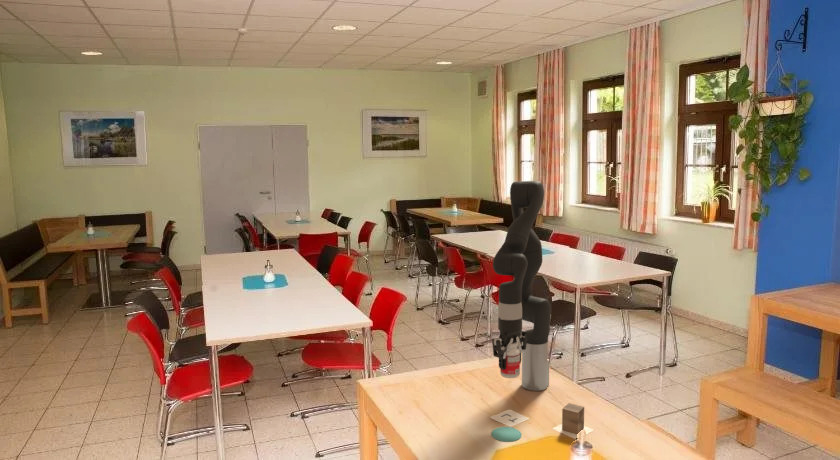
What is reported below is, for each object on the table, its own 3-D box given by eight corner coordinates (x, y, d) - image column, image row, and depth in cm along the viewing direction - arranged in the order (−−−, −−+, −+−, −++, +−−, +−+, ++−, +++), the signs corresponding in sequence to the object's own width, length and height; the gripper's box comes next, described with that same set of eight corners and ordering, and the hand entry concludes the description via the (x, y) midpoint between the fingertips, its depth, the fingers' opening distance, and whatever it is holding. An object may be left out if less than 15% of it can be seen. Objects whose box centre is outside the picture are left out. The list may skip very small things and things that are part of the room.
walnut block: (568, 424, 187) (568, 402, 186) (583, 428, 184) (584, 406, 183) (562, 430, 183) (562, 408, 182) (577, 434, 180) (578, 412, 179)
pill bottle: (499, 371, 193) (499, 338, 192) (518, 371, 193) (518, 338, 192) (501, 379, 187) (501, 345, 186) (521, 378, 187) (521, 345, 186)
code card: (509, 409, 198) (509, 409, 198) (529, 419, 191) (529, 418, 191) (489, 417, 193) (489, 417, 193) (510, 427, 186) (510, 427, 186)
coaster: (505, 425, 188) (505, 424, 187) (527, 435, 181) (527, 434, 180) (485, 434, 182) (485, 432, 182) (507, 445, 175) (507, 444, 175)
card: (570, 420, 190) (570, 419, 190) (594, 430, 183) (594, 429, 183) (551, 429, 184) (551, 428, 184) (575, 439, 178) (575, 439, 177)
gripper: (516, 308, 195) (516, 358, 197) (485, 317, 186) (485, 368, 188) (534, 313, 189) (534, 364, 191) (502, 322, 180) (502, 375, 183)
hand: (510, 366), depth 190 cm, fingers closed on pill bottle, 6 cm apart
